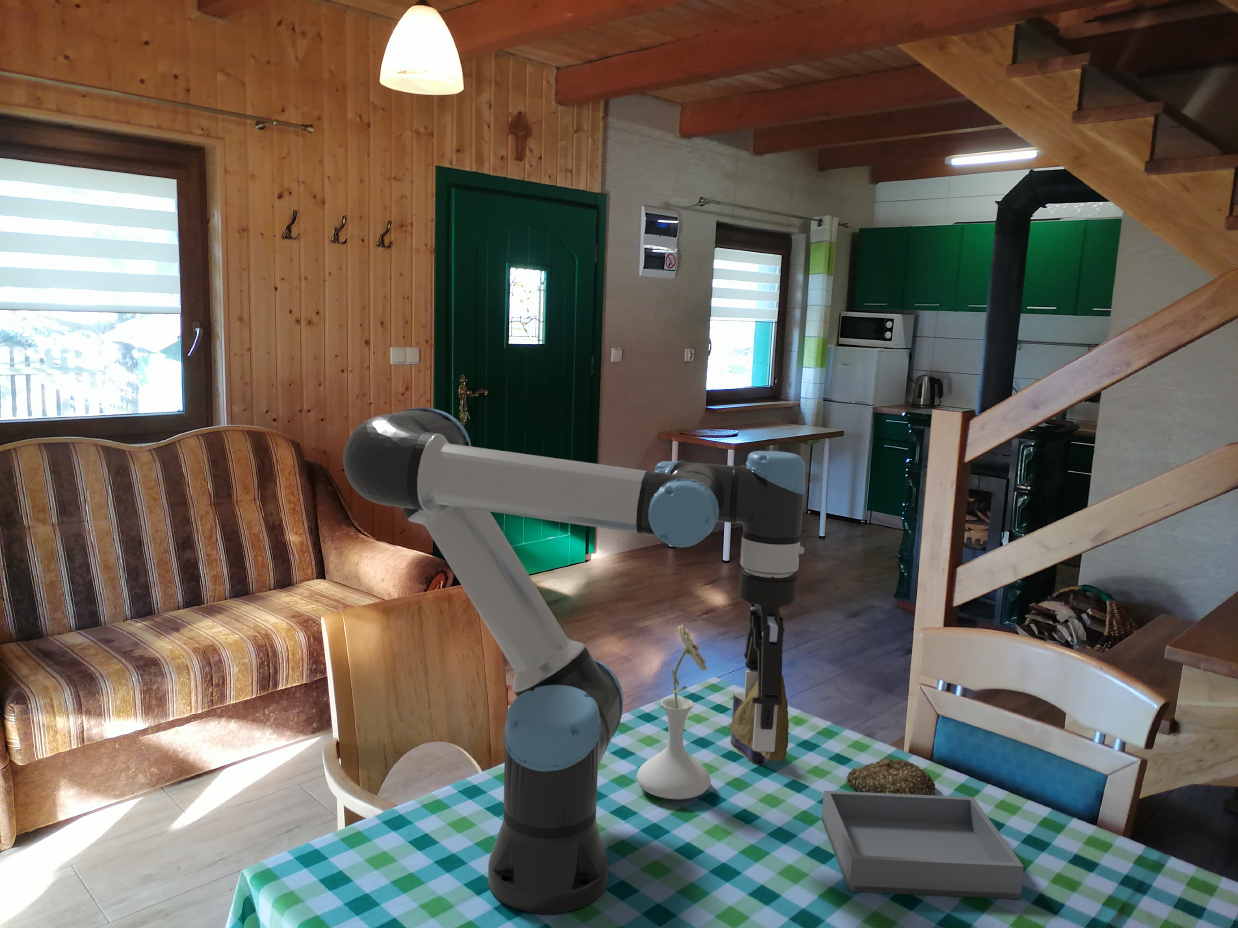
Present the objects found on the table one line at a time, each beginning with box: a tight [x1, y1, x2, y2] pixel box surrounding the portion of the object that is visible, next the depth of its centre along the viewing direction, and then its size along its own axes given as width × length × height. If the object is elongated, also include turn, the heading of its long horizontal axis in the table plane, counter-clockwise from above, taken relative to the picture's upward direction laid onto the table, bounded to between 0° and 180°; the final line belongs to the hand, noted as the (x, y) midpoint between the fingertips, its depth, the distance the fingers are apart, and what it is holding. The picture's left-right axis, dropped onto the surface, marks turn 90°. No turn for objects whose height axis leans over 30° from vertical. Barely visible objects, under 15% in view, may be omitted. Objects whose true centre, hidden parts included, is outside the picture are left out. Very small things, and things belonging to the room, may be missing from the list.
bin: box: [821, 790, 1025, 900], centre depth 126 cm, size 22×18×4 cm
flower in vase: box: [636, 624, 712, 800], centre depth 142 cm, size 13×11×25 cm
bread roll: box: [846, 758, 936, 796], centre depth 146 cm, size 13×12×5 cm
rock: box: [727, 675, 790, 762], centre depth 124 cm, size 11×9×10 cm
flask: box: [730, 691, 765, 765], centre depth 156 cm, size 9×3×11 cm, turn 21°
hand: (757, 732), depth 125 cm, fingers closed on rock, 10 cm apart
